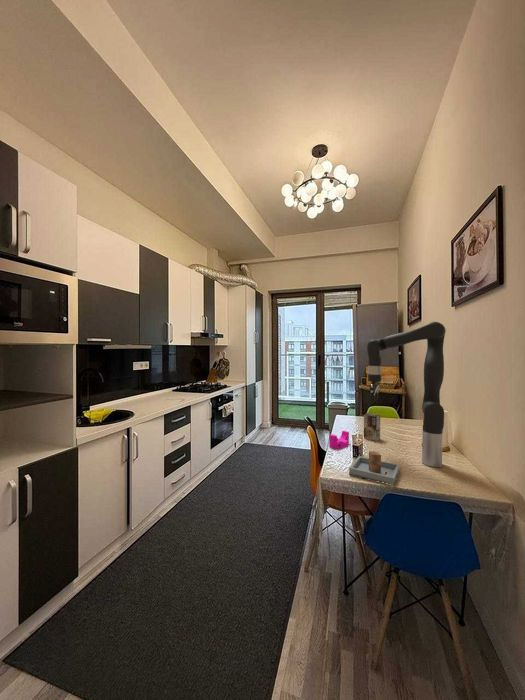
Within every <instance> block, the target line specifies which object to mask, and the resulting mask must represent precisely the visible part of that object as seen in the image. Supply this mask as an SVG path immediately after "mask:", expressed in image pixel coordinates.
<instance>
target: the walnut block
mask: <svg viewBox="0 0 525 700" xmlns="http://www.w3.org/2000/svg"><path fill="white" fill-rule="evenodd" d="M368 458H369V470H370V472H373V473H381V461H382V454H381V453H380V452H379V451H377V450H376V451H374V450H373V451H368Z"/></svg>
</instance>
